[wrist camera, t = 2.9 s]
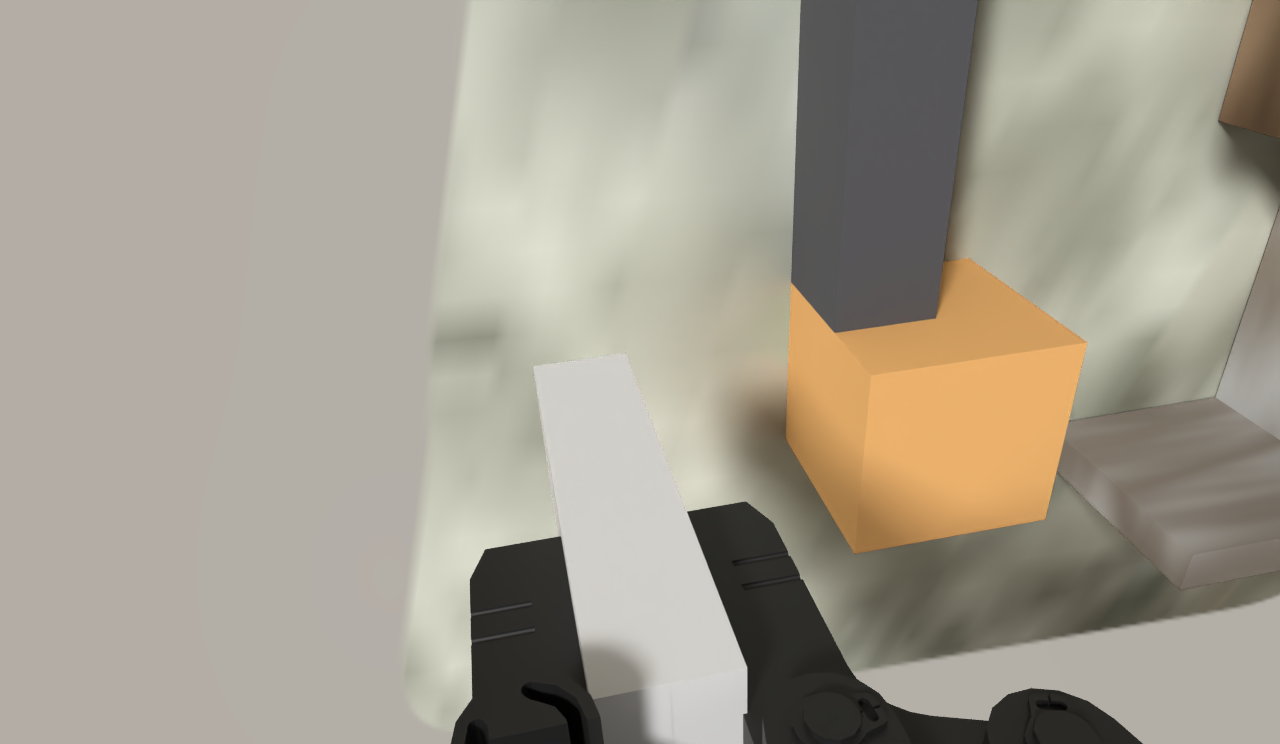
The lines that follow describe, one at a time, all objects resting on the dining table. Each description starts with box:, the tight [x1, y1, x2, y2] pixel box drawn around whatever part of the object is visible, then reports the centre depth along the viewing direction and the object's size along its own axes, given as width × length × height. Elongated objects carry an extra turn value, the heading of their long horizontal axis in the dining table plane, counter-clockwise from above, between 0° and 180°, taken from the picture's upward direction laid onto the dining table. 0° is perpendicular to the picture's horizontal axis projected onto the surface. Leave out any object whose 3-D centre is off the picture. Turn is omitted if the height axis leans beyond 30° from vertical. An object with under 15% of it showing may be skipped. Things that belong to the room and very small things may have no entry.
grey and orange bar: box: [786, 0, 1087, 554], centre depth 18 cm, size 19×5×5 cm, turn 4°
